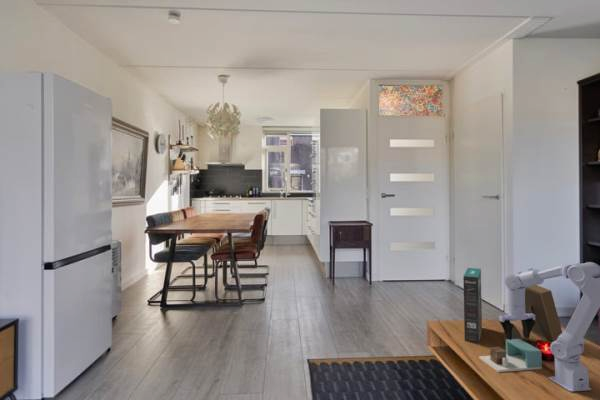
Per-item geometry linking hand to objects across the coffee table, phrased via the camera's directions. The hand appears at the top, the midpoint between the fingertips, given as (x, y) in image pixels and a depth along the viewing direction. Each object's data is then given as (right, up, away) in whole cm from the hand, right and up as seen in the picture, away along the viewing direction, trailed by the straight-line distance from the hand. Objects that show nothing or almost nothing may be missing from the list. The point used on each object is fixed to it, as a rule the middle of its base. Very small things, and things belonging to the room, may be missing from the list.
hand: (517, 338), depth 143 cm
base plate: (-3, -10, 0) cm, 10 cm away
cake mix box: (-2, -10, +31) cm, 33 cm away
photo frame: (+22, -10, +25) cm, 35 cm away
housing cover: (+2, -10, 0) cm, 10 cm away
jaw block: (-8, -9, 0) cm, 12 cm away
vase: (+8, -10, +17) cm, 21 cm away
